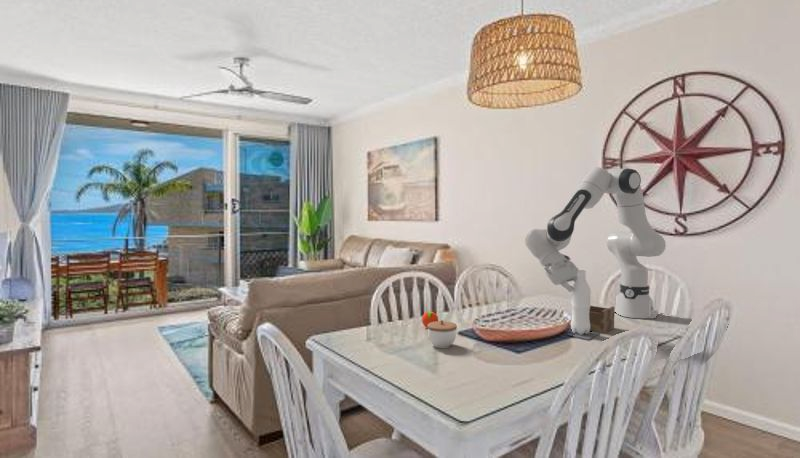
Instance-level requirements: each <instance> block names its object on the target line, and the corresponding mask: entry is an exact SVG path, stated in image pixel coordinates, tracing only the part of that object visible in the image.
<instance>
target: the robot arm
mask: <svg viewBox="0 0 800 458" xmlns="http://www.w3.org/2000/svg"><path fill="white" fill-rule="evenodd" d="M641 179H642V178H641V175H640V173H639V172H638V171H637V170H636V169H633V168H619V167H617V168H612V169H611V168H609V169H605V168H603V167H594V168H592V169H590V171H588V172H587V173H586V175H584V177H583V178H581V180H580V181H579V183H578V185H577V186H576V188H575V189H574V191H573V192H572V193H573V194H572V196H571V199H570V200H569V202H568V203H567V204H566V205H565V206H564V208H563V209H562V210H561V212H559V213H557V214H556V215H554V216H552V217H551V218H550V219H549V220H548V223H547V224H546V225H547V227H546V228H541V229H539V228H534V229H532V230H531V231H530V232H529V233H528V234H527V235H526V237H525V241H524V242H525V246H526V247H527V249H528V250H529V251H530V253H531V254H532V256H534V257H535V258H536V259H538V261H539V263H540V265H541V266H542V267H543V270H544V272H545V274H546V276H547V277H548V279H549V280H550V281H551V282H552V284H553V285H555V286H559V285H561V286H562V287H563V288H564V289H566V290H567V291H568V292H569V293H572V291H573V290H574V288H573V286H572V285H570V284H569V283H570V282H574V283H575V282H576V280H577V271H578V270H580V269H579V268H578V266H577V265H576V264H575V263H574V262H573V261H571V258H570V257H569V255H566V254H563V253H562V252H560V251H562V250H563V249H566V248H567V246H568V245H569V244H570V241H571V239H572V235H573V232H574V230H575V222H576V220H577V219H578V217H579V216H580V215H581V214H582V212H583V210H585V209H593V208H594V207H595V206H596V205H597V204H598V203H599V202H600V201H601V199H602V198H603V197H604V195H605V194H609V195H610V194H612V195H613V194H616V205H617V206H616V207H617V214H618V220H619V222H620V224H622V225H623V226H624V227H627V228H628V229H629V230H630V231H617V232H611V233H610V234H609V236H608V237H607V240H606V246H607V249H608V250H609V252H611V253H612V254H613V255H614V256H615V258H616V259H617V262H618V263H619V267H620V284H619V292H620V293H618V294H616V298H615V300H616V301H615V308H614V312H616V313H617V314H616V313H615V314H616V315H618V314H619V315H618V316H620V315H621V317H625V318H631V319H654V318H655V319H657V317H658V314H659V310H657V309H654V300H653V299H652V297H651V295H650V289H651V287H650V285H649V283H648V282H649V281H648V280H649V277H648V276H649V271H648V268H647V267H646V266H645V265H643V264H642V263H641V262H639V260H638V258H637V257H646V258H650V257H660V256H661V255H662V254H663V253H664V252H665V250H666V246H667V245H666V240H665V238H664V237H663V236H662V234H660V233H658V232H657V231H656V230H655V229H654V228H653V227H652V226H651V224H650V222H649V221H648V218H647V214H646V207H645V198H644V192H643V190H642V186H641V183H642V182H641V181H642V180H641ZM656 316H657V317H656Z"/></svg>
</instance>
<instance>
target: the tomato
mask: <svg viewBox="0 0 800 458" xmlns="http://www.w3.org/2000/svg"><path fill="white" fill-rule="evenodd" d="M436 321H439V317H438V314H437V313H435V312H434V311H426V312H425V313H424V314H423V315H422V317H421V322H422V324H423V326H424V327H425V328H426V329H428V327H427V325H428V324H429V323H431V322H436Z"/></svg>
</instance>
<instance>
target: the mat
mask: <svg viewBox="0 0 800 458" xmlns="http://www.w3.org/2000/svg"><path fill="white" fill-rule="evenodd" d="M600 335H601V333H596V332H590V331H589V333H588V334H585V333H584V334H583V335H579V334H578V333H577V334H575V335H573V336H574V337H577V338H576V339H579V338H580V339H579V340H583V341H590V340H592V339H594V338H596V337H598V336H600ZM574 337H573V338H574Z"/></svg>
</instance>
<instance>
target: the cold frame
mask: <svg viewBox="0 0 800 458" xmlns="http://www.w3.org/2000/svg"><path fill="white" fill-rule="evenodd" d="M614 309H616V306H610V307H601V306H595V305H590V311H589V320H590V331H592V332H595V333H600V335H603V334H606V333H607V332H610V331H611V330H613V329H615V313H614Z"/></svg>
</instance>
